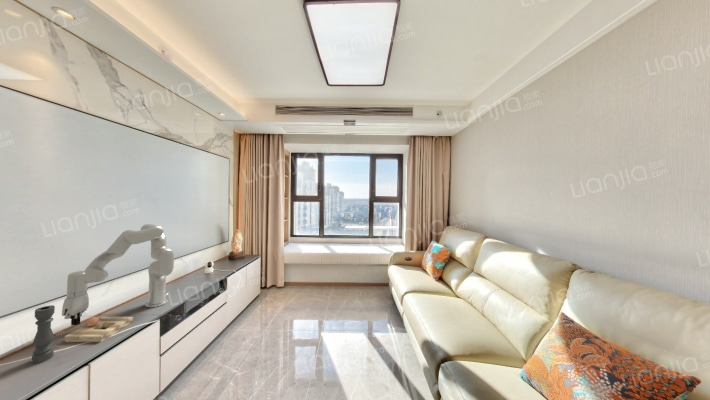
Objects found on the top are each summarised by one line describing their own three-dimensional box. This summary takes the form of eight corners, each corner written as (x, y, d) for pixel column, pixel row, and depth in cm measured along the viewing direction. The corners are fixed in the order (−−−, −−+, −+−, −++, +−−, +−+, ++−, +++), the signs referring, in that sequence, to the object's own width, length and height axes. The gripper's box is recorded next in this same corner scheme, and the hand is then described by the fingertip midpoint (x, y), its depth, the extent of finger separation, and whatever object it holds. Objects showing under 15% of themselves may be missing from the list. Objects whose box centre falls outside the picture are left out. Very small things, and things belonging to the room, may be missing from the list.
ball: (92, 323, 136) (92, 315, 136) (101, 323, 136) (101, 315, 136) (82, 328, 131) (83, 319, 131) (92, 328, 131) (93, 319, 131)
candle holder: (42, 363, 108) (45, 311, 108) (26, 364, 107) (29, 311, 107) (57, 354, 114) (59, 305, 114) (42, 354, 113) (44, 305, 113)
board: (101, 321, 143) (101, 316, 143) (132, 321, 145) (133, 316, 145) (64, 341, 123) (64, 336, 123) (101, 341, 125) (101, 336, 125)
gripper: (83, 287, 139) (82, 317, 139) (54, 299, 124) (52, 332, 125) (97, 288, 140) (95, 317, 140) (69, 299, 125) (68, 332, 125)
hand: (75, 324), depth 132 cm, fingers closed
